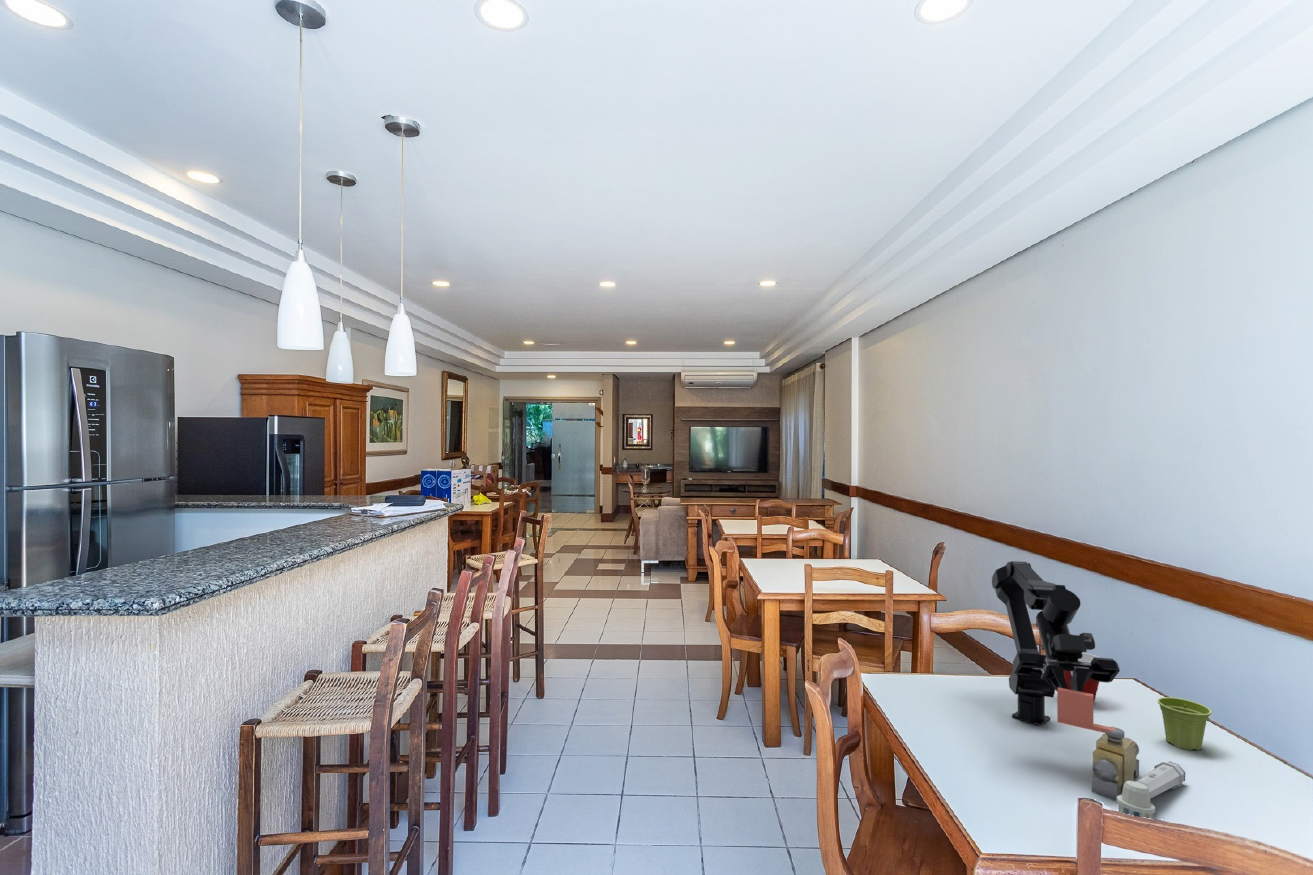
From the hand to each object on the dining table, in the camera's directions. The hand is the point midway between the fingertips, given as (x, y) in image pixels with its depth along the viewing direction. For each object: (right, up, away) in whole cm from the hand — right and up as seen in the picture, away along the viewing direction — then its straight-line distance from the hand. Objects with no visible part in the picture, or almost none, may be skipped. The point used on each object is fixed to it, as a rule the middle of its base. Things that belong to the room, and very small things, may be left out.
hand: (1075, 706), depth 130 cm
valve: (+4, -13, -5) cm, 15 cm away
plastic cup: (+26, -14, +37) cm, 48 cm away
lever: (+1, -4, -3) cm, 5 cm away
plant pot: (+32, -14, +13) cm, 38 cm away
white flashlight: (+7, -13, -11) cm, 19 cm away
